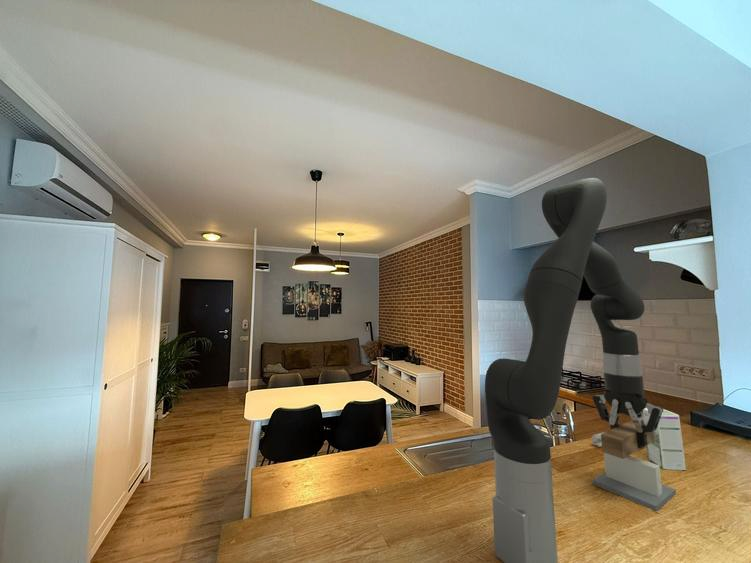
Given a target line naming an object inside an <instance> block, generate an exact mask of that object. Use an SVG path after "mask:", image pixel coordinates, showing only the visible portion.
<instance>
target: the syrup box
mask: <svg viewBox="0 0 751 563" xmlns="http://www.w3.org/2000/svg"><path fill="white" fill-rule="evenodd" d="M642 415H643V417H644V422H645V423H648V421H649V418H650V414H649V413H648V409H647V408H645V409H644V410H643V411H642ZM681 427H682V426H681V421H680V415H679V414H677V413H675V412H673V411H669V410H667V409H664V408H663V412H662V415H661V418H660V421H659V424H658V426H657V429H656V430H655V431H653V433H654V442H652V443H650V444H649V445H647V446H646V451H647V459H648V460H649V462H651V463H653V464H656V465H660V469H663V470H669V471H670V470H671V471H682V470H686V471H687V466H686V465H687V464H686V460H685V452H684V444H683V443H684V442H683V436H682V434H683V433H682V428H681Z"/></svg>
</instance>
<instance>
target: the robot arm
mask: <svg viewBox="0 0 751 563" xmlns="http://www.w3.org/2000/svg"><path fill="white" fill-rule="evenodd" d="M607 196H608V195H607V188H606V185H605V184H604V182H603V181H602V180H601V179H599V178H596V177H589V178H583V179H579V180H576V181H572V182H569V183H566V184H562V185H558V186H555V187H553V188H550V189H548V190H547V191H546V192H545V193H544V194H543V196H542V199H541V210H542V211H541V212H542V214H543V216H544V219H545V221H546V223H547V224H548V225H549V227H550V229H551V230H552V231H553V233H554V234H555V236H556V237H557V240H556V241H555V242H554V243H552V244H551V245H550V246H549V247H548V248H547V249H546V250H545V251H544V252H543V253H542V254H541V255H540V256H539V257H538V258H537V260H535V262H534V263H533V265H532V267H531V269H530V270H529V271H530V272H529V274H528V276H527V280H526V284H525V287H524V290H523V304H524V306H525V310H526V312H527V316H528V319H529V322H530V325H531V330H532V331H531V332H532V338H531V344H530V348H529V352H528V355H527V357H526V360H525V361H523V360H517V359H512V358H503V357H502V358H497V359H495V360H494V361H492V363H491V364H489V367H488V368H487V370H486V374H485V378H484V379H485V380H484V395H485V396H484V398H485V406H486V407H485V408H486V418H487V426H488V431H489V434H490V436H491V438H492V442H493V459H494V461H493V463H494V464H493V465H494V483H495V484H494V488H495V495H494V496H493V497H492V516H493V517H492V519H493V538H494V543H493V544H494V556H496V557H497V558H498V559H499V558H500V559H499V560H501V562H503V563H559V561H558V548H557V535H556V532H557V531H556V518H555V504H554V488H553V486H554V485H553V473H552V472H553V471H552V456H551V445H550V444H551V443H550V442H549V440H548V437H547V436H546V435H545V434H544V433H543V432H541V431H540V430H539V429H538V428H537V427H536V426H535V425H534V424H533V423H532V421H531V419H532V420H536V421H537V420H544V419H546V418H547V417H549V416H550V414H552V412H553V410H554V408H555V407H556V404H557V401H558V397H559V394H560V388H561V382H562V377H563V376H562V375H563V368H564V360H565V354H566V353H565V352H566V348H567V342H568V337H569V332H570V328H571V324H572V321H573V315H574V313H575V309H576V305H577V303H578V299H579V295H580V291H581V288H582V285H583V280H584V279H585V281H586V283H587V285H588V287H589V289H590V291H591V292H592V293H594V294H595V295H593V297H592V298H591V300H590V310H591V313H592V315H593V317H594V320H595V322H596V324H597V327H598V330H599V333H600V335H601V342H602V370H603V381H604V389H605V390H604V391H605V392H604V393H603V394H601V395H600V394H596V395H593V396H592V400H593V403H594V405H595V407H596V410H597V413H598V415H599V417H600V419H601V420H602V421H605V422H608V424H610V430H611V429H614V428H616V427H618V426H620V423H619V422H620V419H621V416H622V414H624V415H626V416H629V417H630V419H631V421H633V422H634V424H635V427H636V429H637V432H636V435H637V445H638V448H641V449H640V450H642V449H644V448H645V447H647V444H648V442H647V432H653V431H655V430H656V429H657V426H658V424H659V421H660V418H661V415H662V412H663V409H664V408H663V407H662V406H656V405H653V404H651V403H649V401H648V400H647V399H646V397H645V388H644V386H645V385H644V377H643V368H642V362H641V358H640V352H639V342H638V341H639V340H638V336H637V333H636V332H635V331H633V330H630V329H626V328H625V329H624V328H620V327H617V326H615V324H614V322H612V321H634V320H638V319H640V318H641V317H642V316H643V314H644V313H645V303H644V301H643V299H642V297H641V295H640V294H639V293H638V292H637V291H636V290H635V289H634V288H633V287H632V286H631V285H630V284H629V283H628V282H627V281H626V280H625V278H624V277H623V275H622V271H621V270H620V267H619V266H618V263H617V261H616V259H615V258H614V256H613V255H612V254H611V253H610V252H609V251H608V250H606V249H605V248H604V247H603V246H601V245H599V244H598V243H596V242H595V241H594V240H595V237H596V235H597V232H598V229H599V226H600V225H601V222H602V220H603V217H604V214H605V210H606V206H607V198H608V197H607ZM606 402H607V404H609V406H610V407H611V408H610V412H609V410H608V408H607V405H606ZM645 408H647V409H648V413H649V414H650V418H649V421H648V423H647V425H645V422H644V417H643V410H644V409H645Z"/></svg>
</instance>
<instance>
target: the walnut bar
mask: <svg viewBox="0 0 751 563" xmlns="http://www.w3.org/2000/svg"><path fill="white" fill-rule="evenodd" d="M619 425H620V424H619ZM645 425H647V423H645ZM636 432H637V429H636V427H635V424H634V422H633V421H632V420H630V421H627V422H626V423H623V424H621V425H620V426H618V427H616V428H614V429H611V428H610V429H609V430H607V431H604V433H603V432H601V433H602V434H601V439H600V440H601V441H602V446H601V450H602V452H601V453H603V454H604V453H607V454H610V455H613V456H616V457H619V458H622V459H624V458H626V457H628V456H631V455H633V454H636V453H637V452H638V451H640V450H642V449H641V448H638V445H637V435H636ZM647 442H648V444H647V445H649V444H650V443H652V442H654V433H653V432H647Z"/></svg>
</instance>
